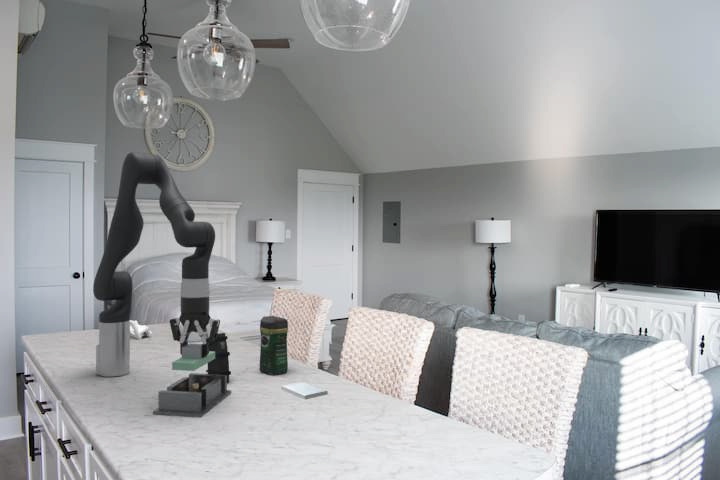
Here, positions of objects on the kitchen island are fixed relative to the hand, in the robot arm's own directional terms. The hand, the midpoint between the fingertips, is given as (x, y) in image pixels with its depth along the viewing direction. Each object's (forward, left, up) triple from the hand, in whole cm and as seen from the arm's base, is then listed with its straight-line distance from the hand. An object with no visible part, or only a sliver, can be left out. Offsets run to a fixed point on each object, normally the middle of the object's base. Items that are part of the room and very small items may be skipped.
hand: (194, 356), depth 152 cm
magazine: (-4, +24, -13) cm, 28 cm away
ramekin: (-37, +81, -13) cm, 90 cm away
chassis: (0, 0, -13) cm, 13 cm away
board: (0, 0, -2) cm, 2 cm away
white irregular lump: (-63, +81, -13) cm, 104 cm away
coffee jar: (+11, +36, -13) cm, 40 cm away
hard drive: (+27, +16, -14) cm, 34 cm away
